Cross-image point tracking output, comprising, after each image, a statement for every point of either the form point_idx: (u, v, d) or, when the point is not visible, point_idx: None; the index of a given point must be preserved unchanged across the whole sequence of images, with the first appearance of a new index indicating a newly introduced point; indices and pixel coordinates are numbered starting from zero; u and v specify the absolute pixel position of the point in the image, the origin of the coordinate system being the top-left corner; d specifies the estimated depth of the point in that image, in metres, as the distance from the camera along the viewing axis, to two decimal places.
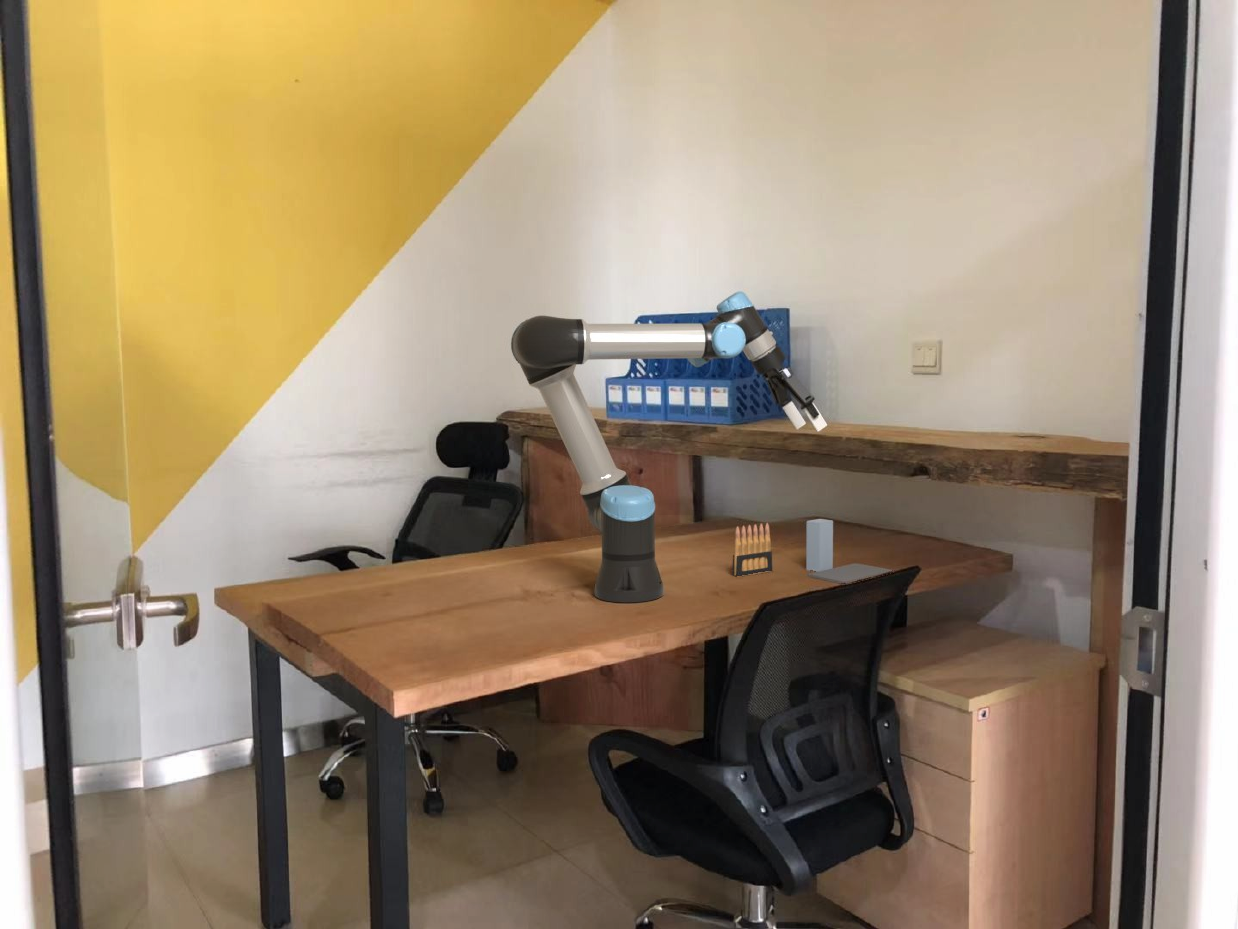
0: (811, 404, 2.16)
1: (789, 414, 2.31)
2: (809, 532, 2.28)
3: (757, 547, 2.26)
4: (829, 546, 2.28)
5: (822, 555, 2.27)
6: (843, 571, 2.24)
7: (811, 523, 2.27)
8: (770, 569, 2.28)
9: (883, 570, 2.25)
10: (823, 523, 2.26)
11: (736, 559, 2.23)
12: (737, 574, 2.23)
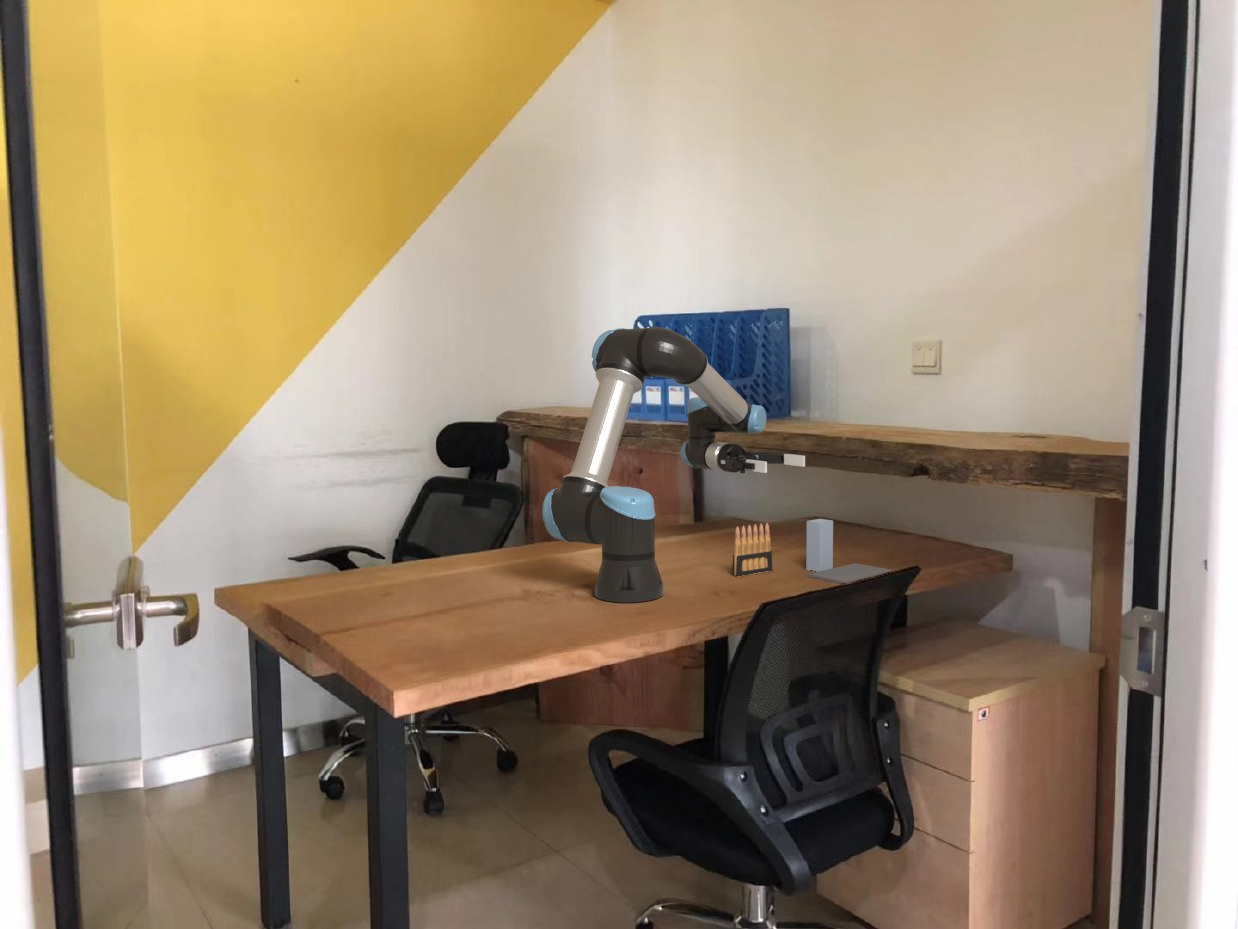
0: None
1: None
2: (809, 532, 2.28)
3: (757, 547, 2.26)
4: (829, 546, 2.28)
5: (822, 555, 2.27)
6: (843, 571, 2.24)
7: (811, 523, 2.27)
8: (770, 569, 2.28)
9: (883, 570, 2.25)
10: (823, 523, 2.26)
11: (736, 559, 2.23)
12: (737, 574, 2.23)
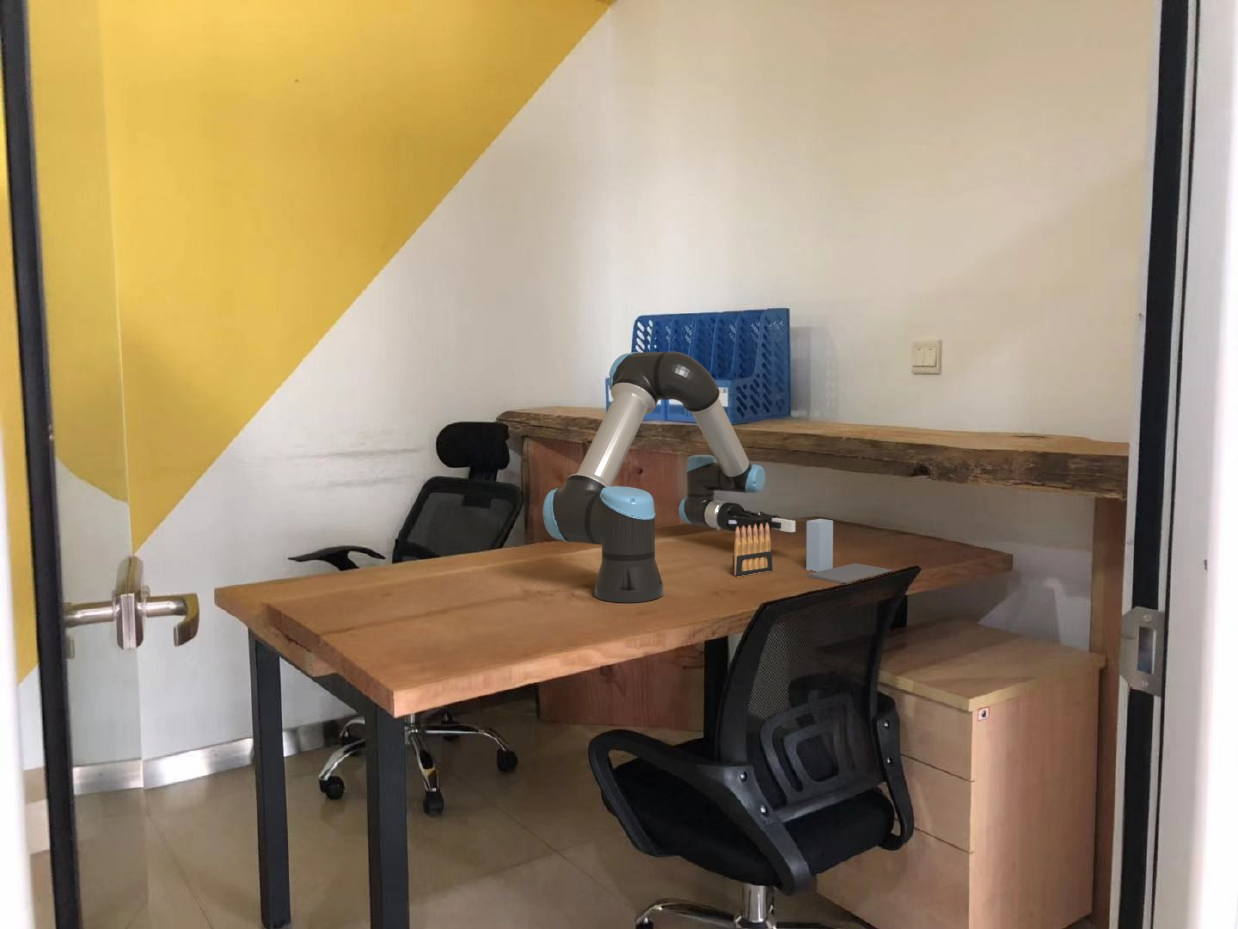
0: None
1: None
2: (809, 532, 2.28)
3: (757, 547, 2.25)
4: (829, 546, 2.28)
5: (822, 555, 2.27)
6: (843, 571, 2.24)
7: (811, 523, 2.27)
8: (770, 569, 2.28)
9: (883, 570, 2.25)
10: (823, 523, 2.26)
11: (736, 559, 2.23)
12: (737, 574, 2.23)
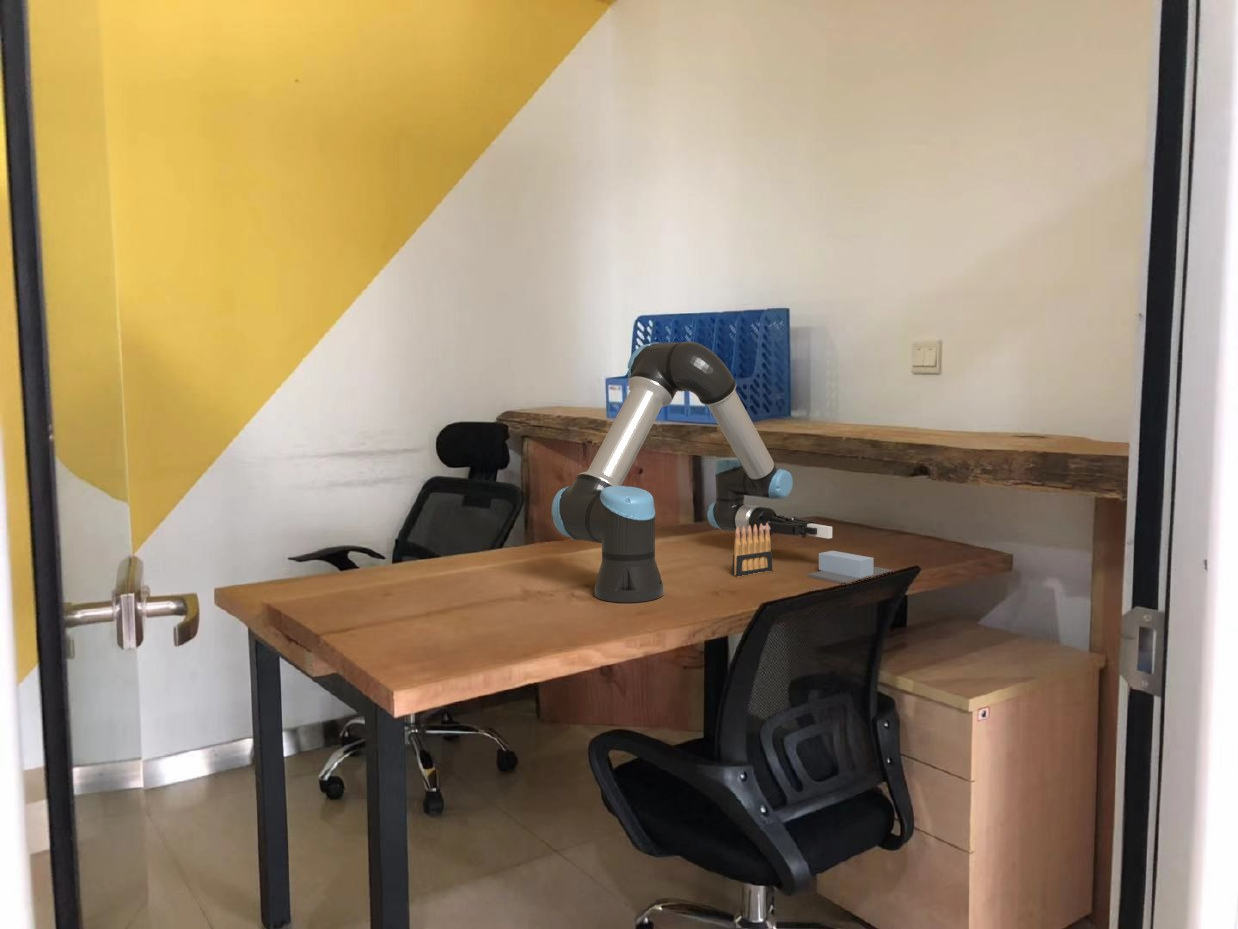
0: None
1: None
2: (850, 563, 2.19)
3: (757, 547, 2.26)
4: None
5: None
6: None
7: (858, 567, 2.17)
8: (770, 569, 2.28)
9: (883, 570, 2.25)
10: None
11: (736, 559, 2.23)
12: (737, 574, 2.23)
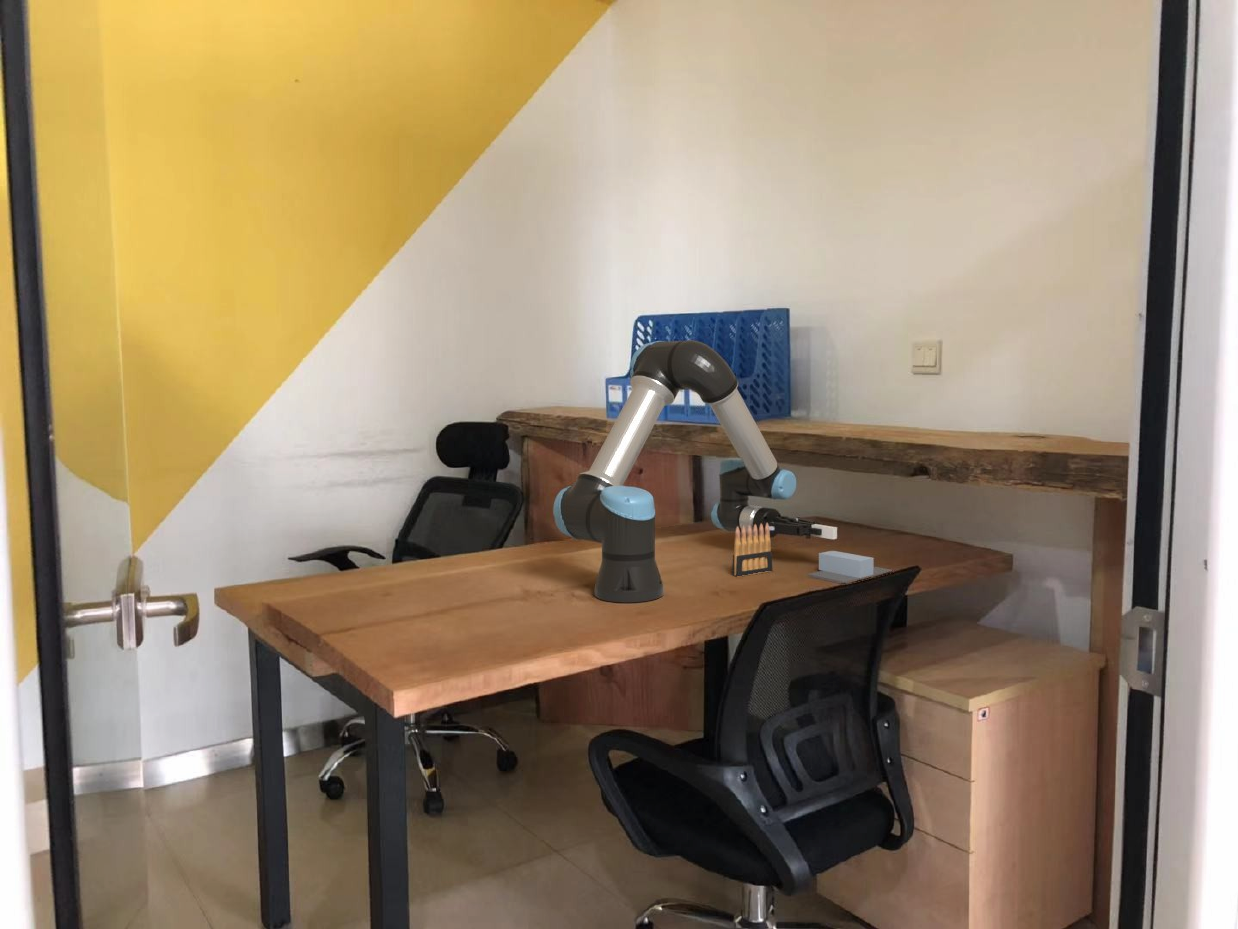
0: None
1: None
2: (850, 563, 2.19)
3: (757, 547, 2.26)
4: None
5: None
6: None
7: (858, 567, 2.17)
8: (770, 569, 2.28)
9: (883, 570, 2.25)
10: None
11: (736, 559, 2.23)
12: (737, 574, 2.23)
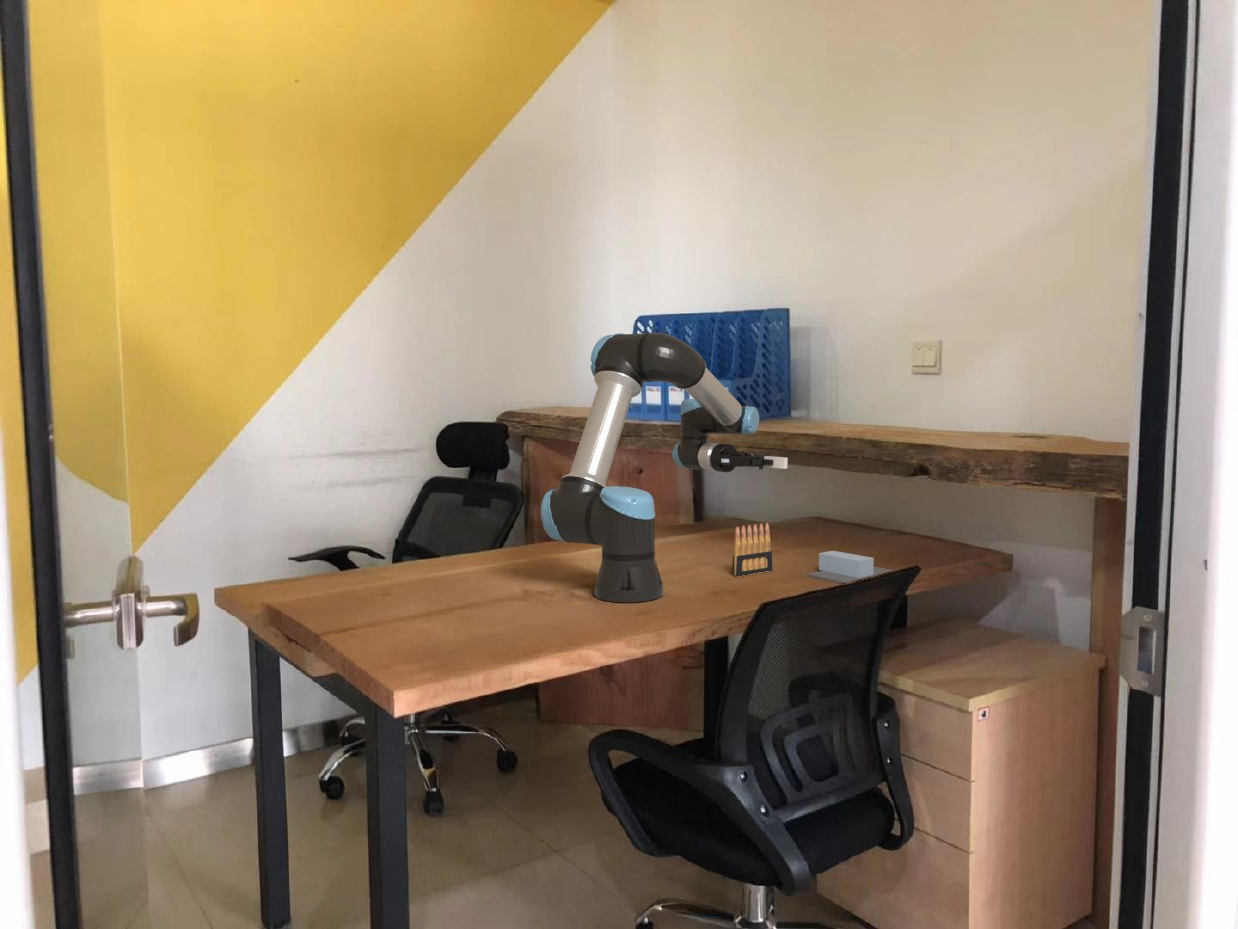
0: None
1: None
2: (850, 563, 2.19)
3: (757, 547, 2.26)
4: None
5: None
6: None
7: (858, 567, 2.17)
8: (770, 569, 2.28)
9: (883, 570, 2.25)
10: None
11: (736, 559, 2.23)
12: (737, 574, 2.23)
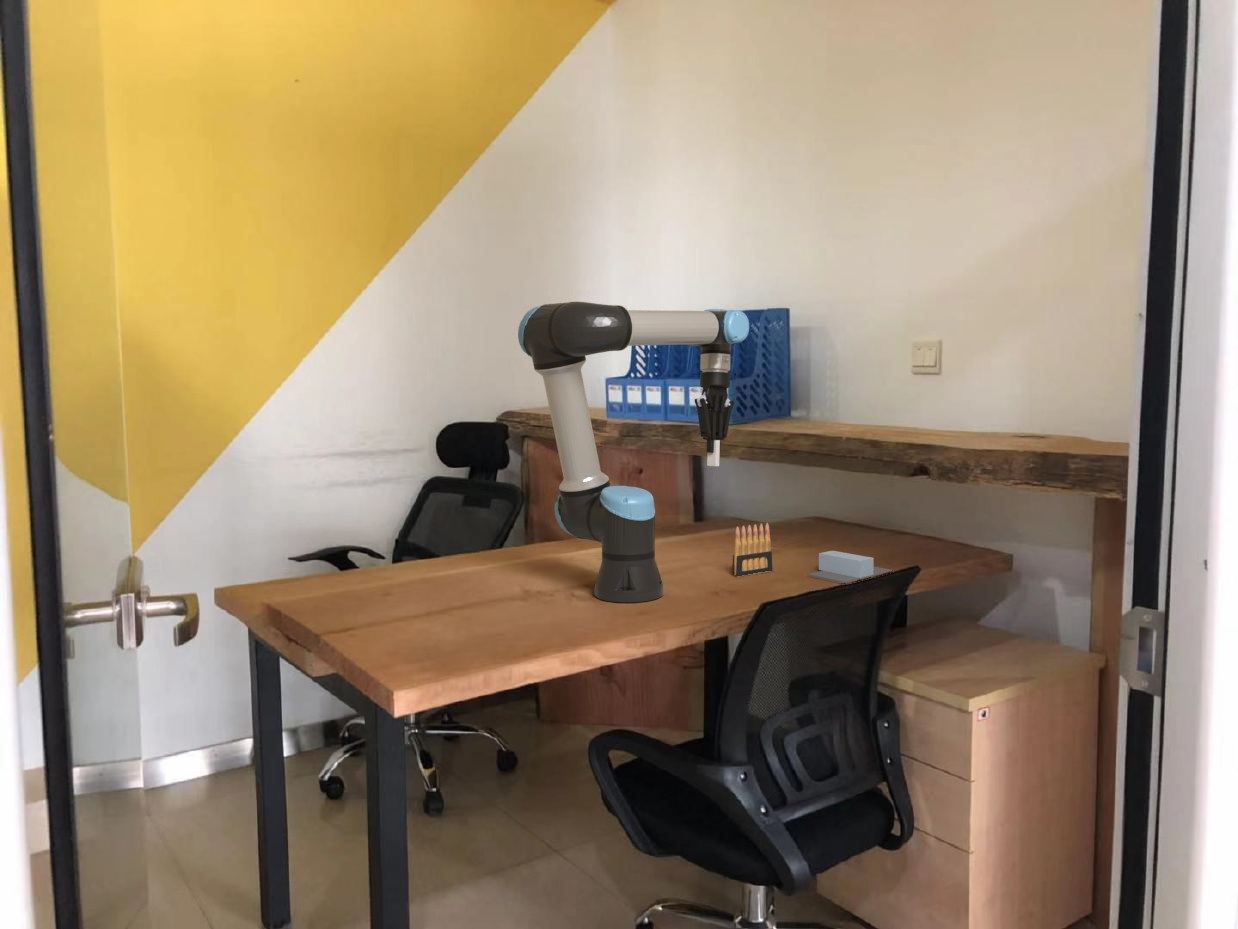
0: (709, 440, 2.36)
1: None
2: (850, 563, 2.19)
3: (757, 547, 2.26)
4: None
5: None
6: None
7: (858, 567, 2.17)
8: (770, 569, 2.28)
9: (883, 570, 2.25)
10: None
11: (736, 559, 2.23)
12: (737, 574, 2.23)
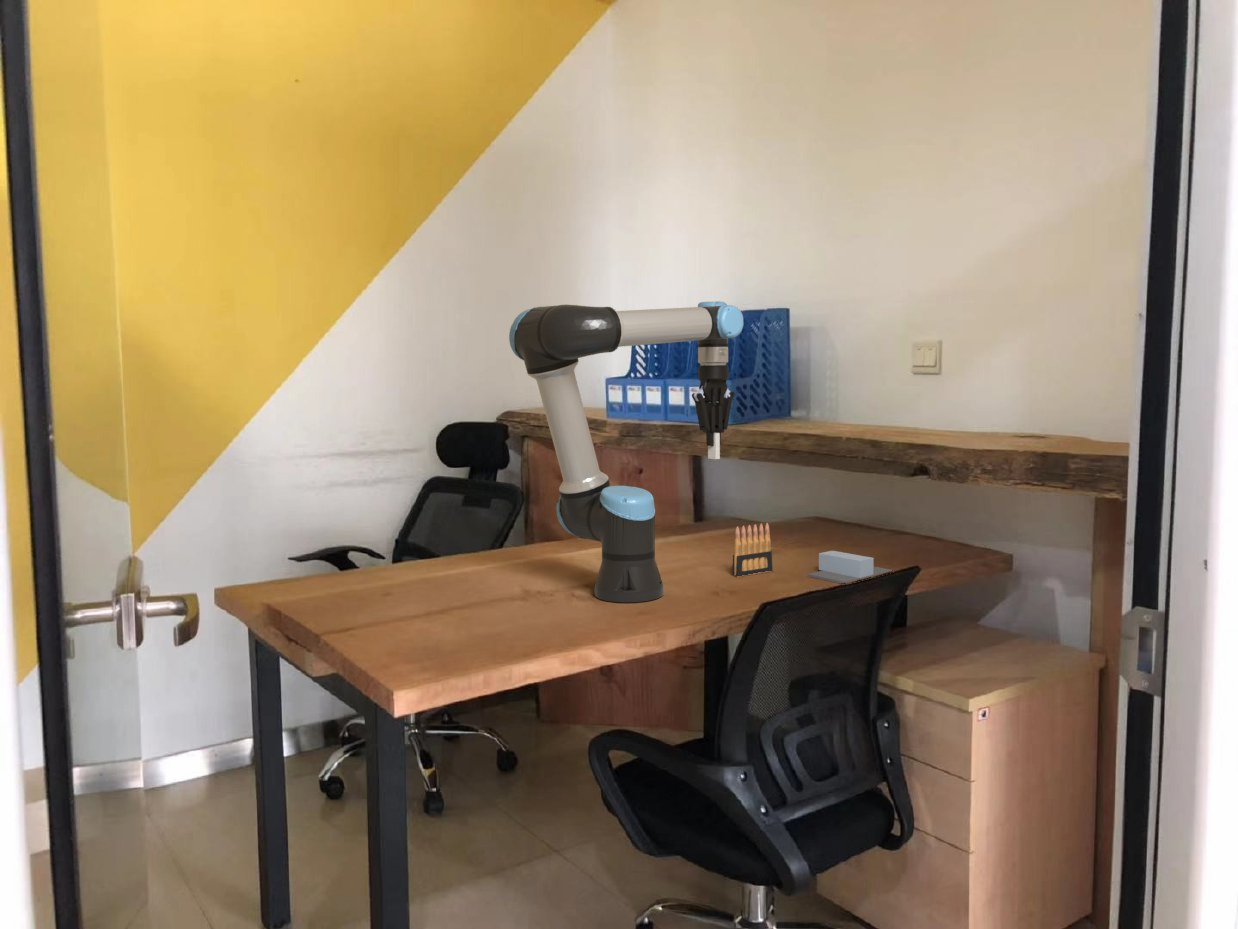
0: (708, 433, 2.36)
1: None
2: (850, 563, 2.19)
3: (757, 547, 2.26)
4: None
5: None
6: None
7: (858, 567, 2.17)
8: (770, 569, 2.28)
9: (883, 570, 2.25)
10: None
11: (736, 559, 2.23)
12: (737, 574, 2.23)
